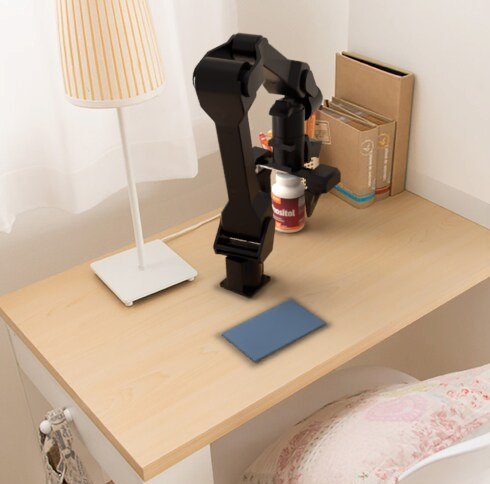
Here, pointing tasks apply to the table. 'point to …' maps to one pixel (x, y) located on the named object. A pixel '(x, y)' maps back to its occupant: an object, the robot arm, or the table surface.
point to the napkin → (273, 330)
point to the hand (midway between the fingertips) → (288, 210)
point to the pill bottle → (288, 203)
